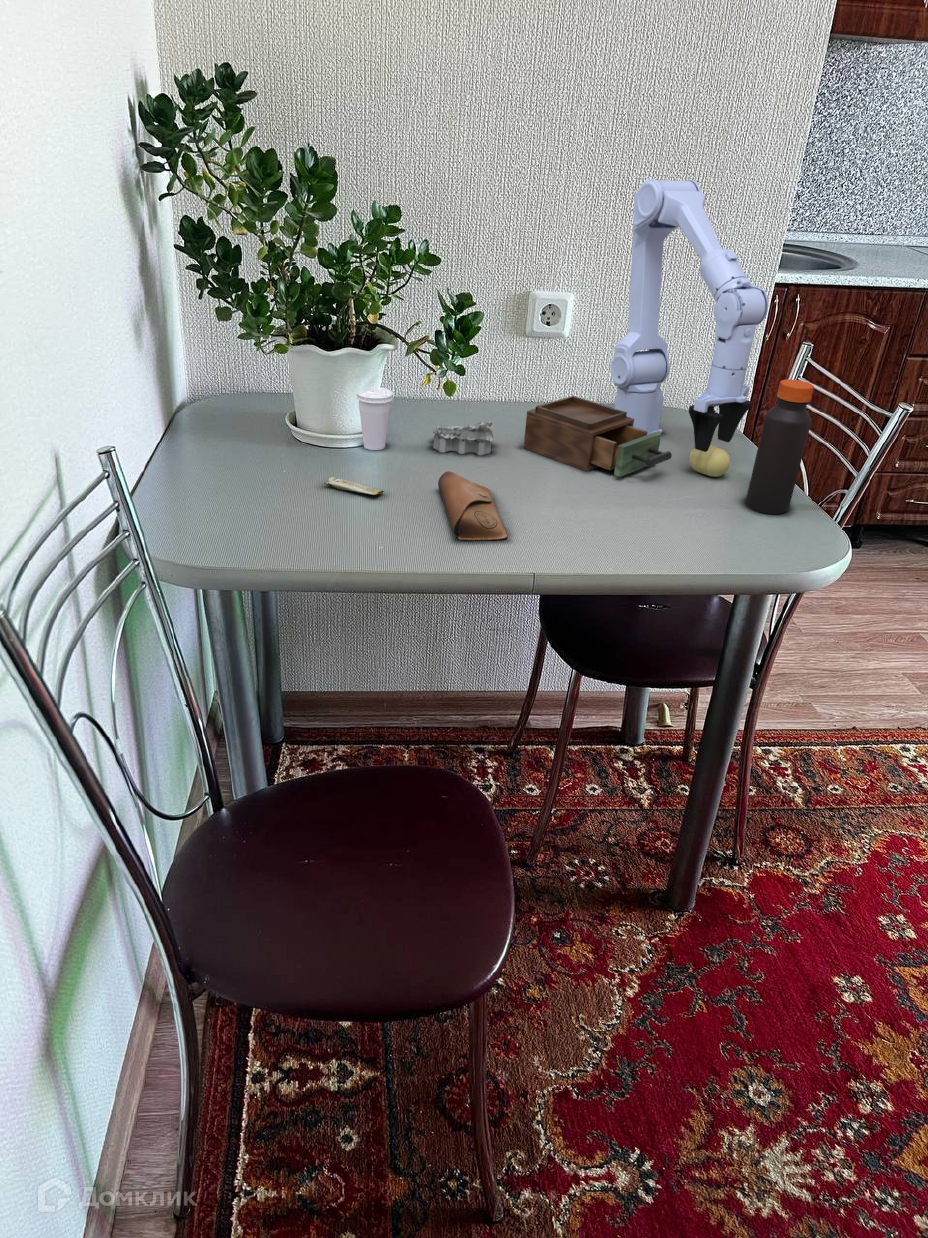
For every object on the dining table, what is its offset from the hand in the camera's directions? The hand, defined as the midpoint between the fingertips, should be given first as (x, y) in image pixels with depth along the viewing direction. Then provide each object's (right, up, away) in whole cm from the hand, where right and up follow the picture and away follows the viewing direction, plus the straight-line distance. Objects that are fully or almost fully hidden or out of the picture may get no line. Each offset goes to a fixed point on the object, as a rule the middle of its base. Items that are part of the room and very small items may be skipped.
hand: (712, 445), depth 154 cm
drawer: (-16, -2, +3) cm, 16 cm away
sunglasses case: (-41, -14, -18) cm, 47 cm away
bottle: (+6, -12, -8) cm, 16 cm away
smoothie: (-58, +1, +5) cm, 58 cm away
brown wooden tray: (-22, +6, +5) cm, 23 cm away
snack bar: (-60, -10, -13) cm, 62 cm away
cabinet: (-22, 0, +8) cm, 24 cm away
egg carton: (-43, +1, +7) cm, 43 cm away
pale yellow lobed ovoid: (0, -4, +3) cm, 5 cm away
